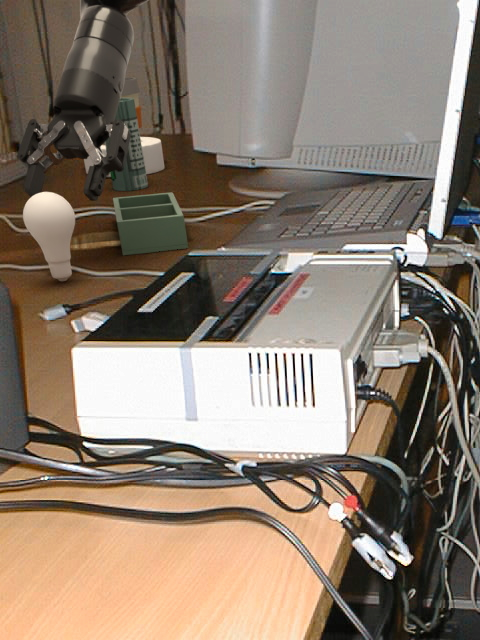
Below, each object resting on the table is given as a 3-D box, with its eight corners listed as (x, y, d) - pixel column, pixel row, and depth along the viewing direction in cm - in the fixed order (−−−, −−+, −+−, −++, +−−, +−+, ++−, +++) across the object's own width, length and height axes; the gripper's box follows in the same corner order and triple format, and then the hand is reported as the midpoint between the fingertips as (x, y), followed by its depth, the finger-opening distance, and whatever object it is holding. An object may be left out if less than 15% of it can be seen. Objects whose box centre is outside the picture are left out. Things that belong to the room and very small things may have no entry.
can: (126, 183, 173) (111, 98, 165) (153, 184, 171) (139, 98, 163) (107, 190, 168) (91, 102, 160) (135, 191, 166) (120, 102, 158)
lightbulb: (45, 290, 113) (24, 199, 107) (33, 280, 117) (12, 192, 112) (93, 282, 116) (75, 192, 110) (80, 271, 120) (62, 185, 114)
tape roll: (162, 161, 193) (158, 133, 191) (167, 173, 180) (163, 143, 177) (86, 167, 190) (81, 139, 187) (86, 180, 177) (80, 150, 174)
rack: (188, 248, 128) (183, 215, 126) (123, 255, 126) (116, 222, 124) (177, 222, 143) (172, 192, 141) (118, 228, 141) (112, 197, 139)
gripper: (27, 66, 116) (-7, 177, 112) (125, 64, 112) (93, 179, 109) (60, 106, 123) (29, 211, 119) (153, 105, 119) (124, 214, 116)
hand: (60, 196), depth 114 cm, fingers open, 8 cm apart
